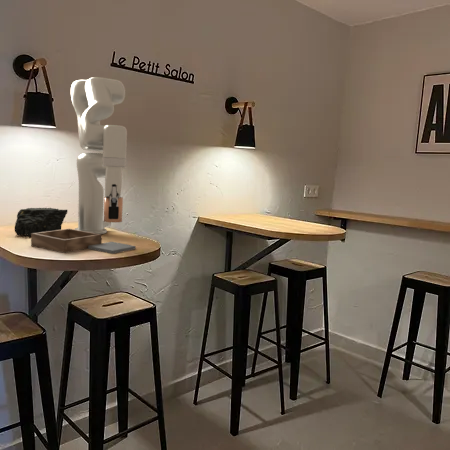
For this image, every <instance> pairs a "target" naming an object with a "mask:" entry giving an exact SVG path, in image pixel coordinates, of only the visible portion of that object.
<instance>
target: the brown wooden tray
mask: <svg viewBox="0 0 450 450" xmlns="http://www.w3.org/2000/svg"><path fill="white" fill-rule="evenodd" d="M74 229H75V228H63V229H62V228H61V230H54V231H47V232H39V233H31V235H30V245H31V246H34V247H37V248H42V249H47V250H50V251H56V252H59V253H70V252H75V251H79V250H80V251H81V250H86V249H87V250H88V246H90V245H95V244H101V243H102V235H103V234H96V233H91V232H85V231H80V230H74Z"/></svg>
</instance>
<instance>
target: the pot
mask: <svg viewBox="0 0 450 450" xmlns="http://www.w3.org/2000/svg"><path fill="white" fill-rule="evenodd" d="M111 197H112V196H111ZM109 198H110V196H107V198H106V197H105V196H103V221H104V222H111V223H122V222H123V207H124V205H123V203H124V201H123V200H124V197H122V196H120V198H119V197H118V207H119V217H118V219H109V218H108V213H109V204H110V199H109Z"/></svg>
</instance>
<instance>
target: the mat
mask: <svg viewBox="0 0 450 450" xmlns="http://www.w3.org/2000/svg"><path fill="white" fill-rule="evenodd" d="M136 248H137V247H136V245H131V244H127V243H126V244H125V243H121V242H115V241H109V242H108V241H107V242H103V243H102V242H101V244H95V245H90V246H88V248H87V250H92V251H98V252H103V253H106V252H107V254H112V255H113V254H117V253H123V251H124V252H128V251H132V250H136Z"/></svg>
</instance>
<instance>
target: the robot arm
mask: <svg viewBox="0 0 450 450" xmlns="http://www.w3.org/2000/svg"><path fill="white" fill-rule="evenodd" d="M70 86H71V87H70V97H71V98H70V99H71V102H72V103H71V104H72V106H73V108H74V111H75V114H76V117H77V118H76V119H77V131H78V141H79V147H80V148H81V149H83V150H85V151H88V152H83V153H81V154H79V155H78V157H77V158H76V169H77V171H76V172H77V177H78V206H77V207H78V211H77V212H78V214H77V215H78V216H77V217H78V218H77V221H78V224H77V225H78V226H77V227H76V228H73V229H74V230H80V231H85V232H91V233H96V234H101V235H103V234H107V231H108V230H107V229H106V227H110V226H112V222H104V197H106V198H107V196H110V198H109V199H110V204H109V213H108V218H109V219H118V217H119V207H118V197H119V198H120V197H121V194H122V183H123V182H122V181H123V169H127V147H128V146H127V142H128V139H127V138H128V130H127V128H126V127H125V126H123V125H119V124H118V125H117V124H106V125H104V124H101V121H103V120H106V119H108V118H110V117H111V116H112V115H113V114H114V111H115V107H114V106H116V105H119V104H122V103H123V102H124V100H125V99H126V98H125V97H126V87H125V86H124V83H123V82H122V81H121V80H118V79H113V78H107V77H101V76H99V77H98V76H94V77H90V78H88V79H78V80H75V81H73V82H72V84H71V85H70ZM98 178H99V179H100V178H102V179H104V186H103V185H102V183H101V182H100V181H99V179H98ZM111 196H112V197H111Z"/></svg>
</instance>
